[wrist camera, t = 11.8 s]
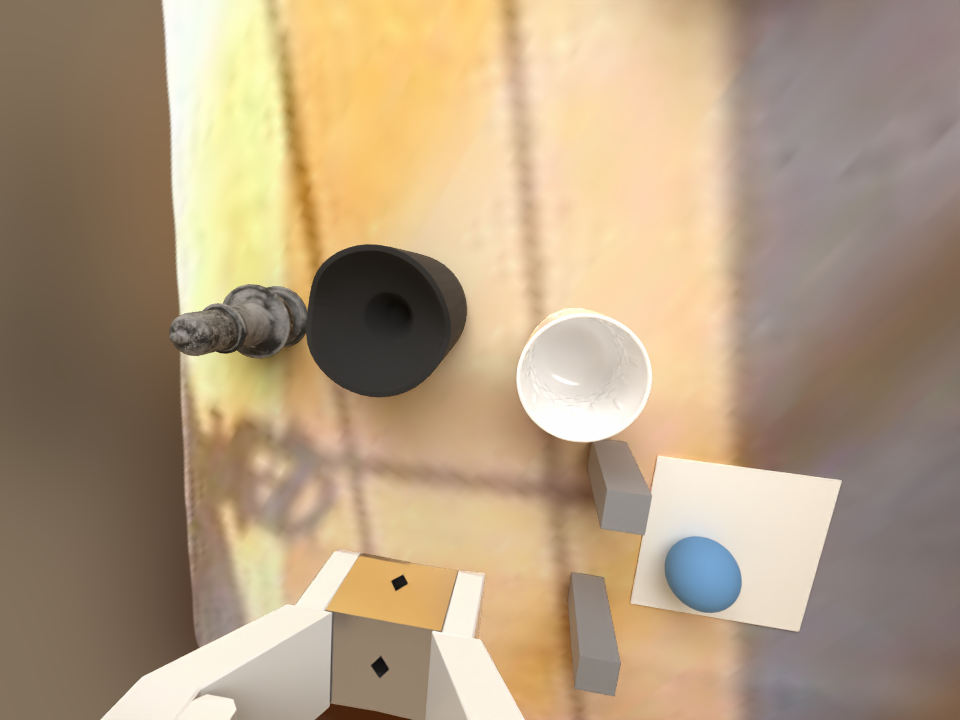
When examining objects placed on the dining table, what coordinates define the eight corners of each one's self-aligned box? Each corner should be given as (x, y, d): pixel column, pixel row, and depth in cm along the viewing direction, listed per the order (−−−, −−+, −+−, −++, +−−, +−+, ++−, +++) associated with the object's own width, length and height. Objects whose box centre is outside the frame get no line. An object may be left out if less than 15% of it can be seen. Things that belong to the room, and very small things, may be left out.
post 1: (626, 442, 38) (652, 496, 29) (621, 473, 38) (644, 535, 30) (592, 437, 38) (607, 489, 29) (587, 468, 39) (600, 528, 30)
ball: (657, 527, 37) (708, 518, 39) (644, 583, 38) (694, 571, 40) (711, 575, 32) (767, 562, 34) (693, 637, 34) (748, 621, 36)
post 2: (603, 577, 40) (620, 663, 32) (599, 604, 41) (614, 696, 32) (571, 572, 41) (579, 656, 32) (567, 599, 41) (574, 688, 33)
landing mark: (840, 480, 36) (841, 481, 36) (797, 629, 39) (798, 631, 39) (657, 455, 38) (657, 456, 37) (630, 601, 41) (630, 603, 40)
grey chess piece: (259, 270, 39) (139, 273, 27) (321, 301, 39) (226, 317, 27) (239, 332, 40) (116, 360, 29) (298, 361, 40) (199, 401, 28)
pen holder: (339, 294, 38) (271, 305, 29) (426, 225, 36) (384, 211, 27) (406, 384, 39) (362, 424, 30) (495, 321, 37) (479, 342, 27)
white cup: (519, 392, 38) (512, 436, 28) (525, 297, 36) (520, 309, 27) (617, 400, 37) (643, 448, 27) (627, 303, 35) (660, 317, 26)
